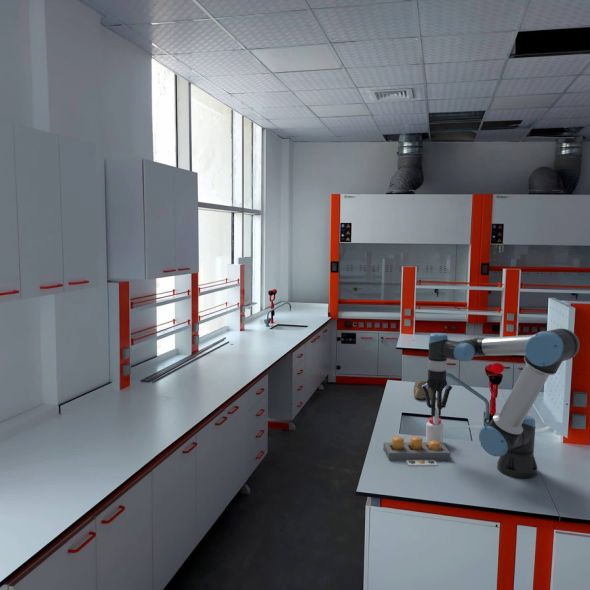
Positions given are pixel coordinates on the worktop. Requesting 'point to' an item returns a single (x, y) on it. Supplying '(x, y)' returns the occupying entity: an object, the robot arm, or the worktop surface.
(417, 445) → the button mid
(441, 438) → the pill bottle
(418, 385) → the rock
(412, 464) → the pattern card
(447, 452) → the board
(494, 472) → the worktop surface
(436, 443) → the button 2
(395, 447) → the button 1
